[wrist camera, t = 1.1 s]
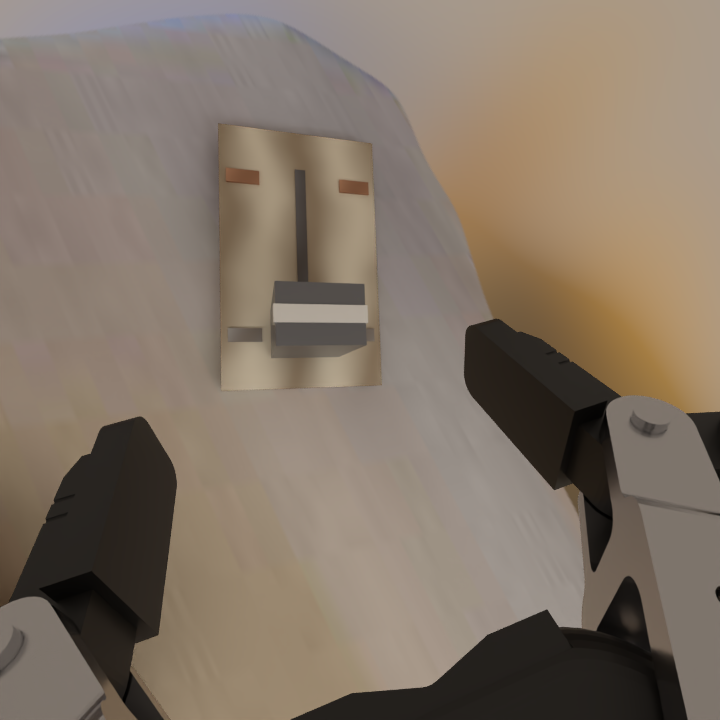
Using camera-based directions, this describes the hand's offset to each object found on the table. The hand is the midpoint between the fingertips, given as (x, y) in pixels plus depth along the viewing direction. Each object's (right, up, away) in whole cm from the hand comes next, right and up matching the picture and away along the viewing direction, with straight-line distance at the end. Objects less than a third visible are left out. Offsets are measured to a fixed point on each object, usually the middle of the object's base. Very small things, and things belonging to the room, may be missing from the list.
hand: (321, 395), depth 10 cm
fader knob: (-3, +3, +19) cm, 20 cm away
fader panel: (-4, +9, +22) cm, 24 cm away
